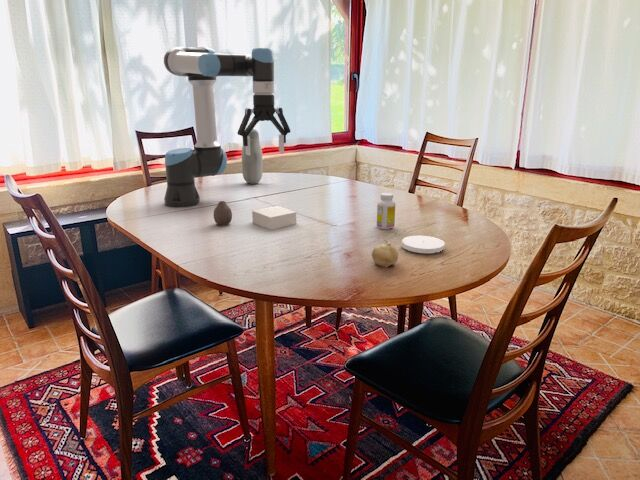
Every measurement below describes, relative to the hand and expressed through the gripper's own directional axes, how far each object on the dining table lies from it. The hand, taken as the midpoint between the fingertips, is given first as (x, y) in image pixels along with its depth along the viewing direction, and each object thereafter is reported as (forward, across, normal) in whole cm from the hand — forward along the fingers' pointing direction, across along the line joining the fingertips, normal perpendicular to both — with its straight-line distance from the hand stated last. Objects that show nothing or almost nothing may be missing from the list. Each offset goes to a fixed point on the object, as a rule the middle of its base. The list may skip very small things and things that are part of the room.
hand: (265, 153), depth 187 cm
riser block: (+27, +2, -3) cm, 27 cm away
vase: (+27, -16, +5) cm, 31 cm away
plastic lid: (+27, +32, -53) cm, 68 cm away
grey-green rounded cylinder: (+27, +24, +68) cm, 77 cm away
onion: (+27, +12, -59) cm, 66 cm away
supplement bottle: (+27, +36, -28) cm, 53 cm away
